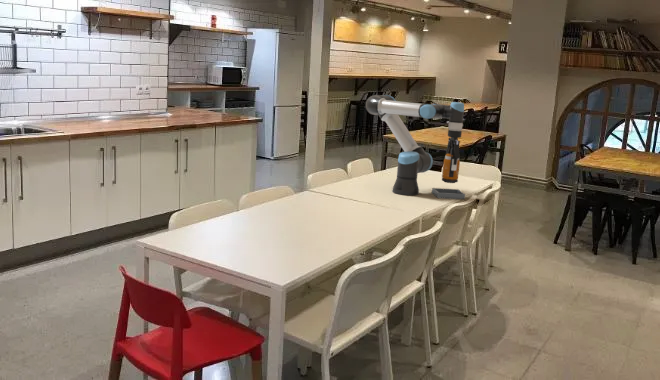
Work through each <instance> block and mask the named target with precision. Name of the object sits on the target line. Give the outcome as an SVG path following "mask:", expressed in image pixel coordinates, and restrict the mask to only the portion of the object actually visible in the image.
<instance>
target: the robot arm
mask: <svg viewBox="0 0 660 380" xmlns="http://www.w3.org/2000/svg"><path fill="white" fill-rule="evenodd" d="M365 109H366V111H367V112H368V113H369V114H370V115H373V116H374V115H375V116H378V117H379V118H380V120H381V121H383V122H385V123H386V125H387V126H388V127H389V129H390V131H391V132H392V134H393V136H394V138H395V139H396V141H397V142H398V144H399V145H400V148H401V149H402V150H403V151H402V152H400V153H399V154H398V159H397V171H396V179H395V182H394V183H393V186H392V193H394V194H396V195H400V196H401V195H403V196H416V195H419V194H420V189H419V183H418V174H420V173H421V174H422V173H426V172H427V171H429V170H431V168H433V167H432V166H433V162H434V161H433V157H432V155H431V154H430V153H429V152H426V151H425V150H424V148H423V147H422V146H421V145H419V144H417V142H416V140H415V139H414V138H413V136H412V135H411V133H410V131H409V129H408V128H407V126H406V124H405V123H404V121H403V120H402V119H401V117H400V116H406V117H407V116H408V117H416V118H417V117H418V118H423V119H426V120H427V119H428V120H429V119H441V118H442V119H448V120H449V121H448V126H447V127H448V130H447V136H448V141H447V148H446V152H445V155H446V154H450V152H451V150H450V149H451V148H453V157H452V168H451V170H454V171H456V169H457V160H458V158H459V159H460V143H461V141H460V140H459V139H460V138H461V137H462V133H463V131H462V130H463V127H464V124H463V123H464V122H463V121H464V113H465V104H464V102H459V101H457V102H456V101H452V102H450V105H449V104H441V103H432V104H430V103H429V104H428V103H419V102H417V103H416V102H408V101H407V102H406V101H398V100H396V99H395V98H394V97H393V96H391V95H388V94H383V95H380V94H373V95H371V96H369V97H368V98H367V100H366V101H365ZM458 138H459V139H458Z"/></svg>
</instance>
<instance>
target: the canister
mask: <svg viewBox="0 0 660 380" xmlns="http://www.w3.org/2000/svg"><path fill="white" fill-rule="evenodd" d="M450 150H451V152H450V154H446V153H445V156H444V159H443V165H442V172H441V173H442V175H441V181H442V182H444V183H446V184H447V183H448V184H455V183H458V182H459V171H460V164H461V161H460V157H459V158H458V160H457V169H456V171H454V170H451V168H452V157H453V148H451V149H450Z"/></svg>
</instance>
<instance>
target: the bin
mask: <svg viewBox="0 0 660 380" xmlns="http://www.w3.org/2000/svg"><path fill="white" fill-rule="evenodd" d="M431 194H432V195H433V196H435V198H437V199H445V200H447V199H448V200H450V199H452V200H465V198H466V193H464V192H463V191H461V190H460V189H458V188H457V189H455V188H440V187H433V188H432V189H431Z"/></svg>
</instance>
